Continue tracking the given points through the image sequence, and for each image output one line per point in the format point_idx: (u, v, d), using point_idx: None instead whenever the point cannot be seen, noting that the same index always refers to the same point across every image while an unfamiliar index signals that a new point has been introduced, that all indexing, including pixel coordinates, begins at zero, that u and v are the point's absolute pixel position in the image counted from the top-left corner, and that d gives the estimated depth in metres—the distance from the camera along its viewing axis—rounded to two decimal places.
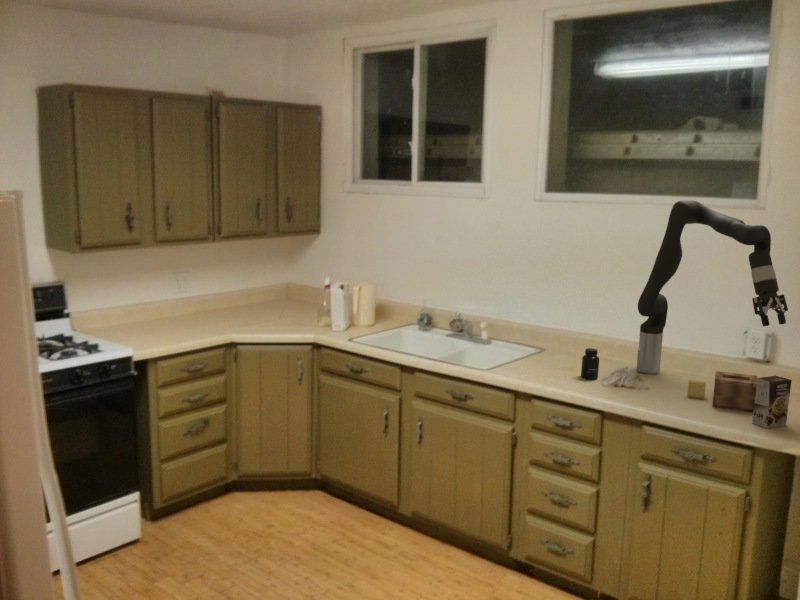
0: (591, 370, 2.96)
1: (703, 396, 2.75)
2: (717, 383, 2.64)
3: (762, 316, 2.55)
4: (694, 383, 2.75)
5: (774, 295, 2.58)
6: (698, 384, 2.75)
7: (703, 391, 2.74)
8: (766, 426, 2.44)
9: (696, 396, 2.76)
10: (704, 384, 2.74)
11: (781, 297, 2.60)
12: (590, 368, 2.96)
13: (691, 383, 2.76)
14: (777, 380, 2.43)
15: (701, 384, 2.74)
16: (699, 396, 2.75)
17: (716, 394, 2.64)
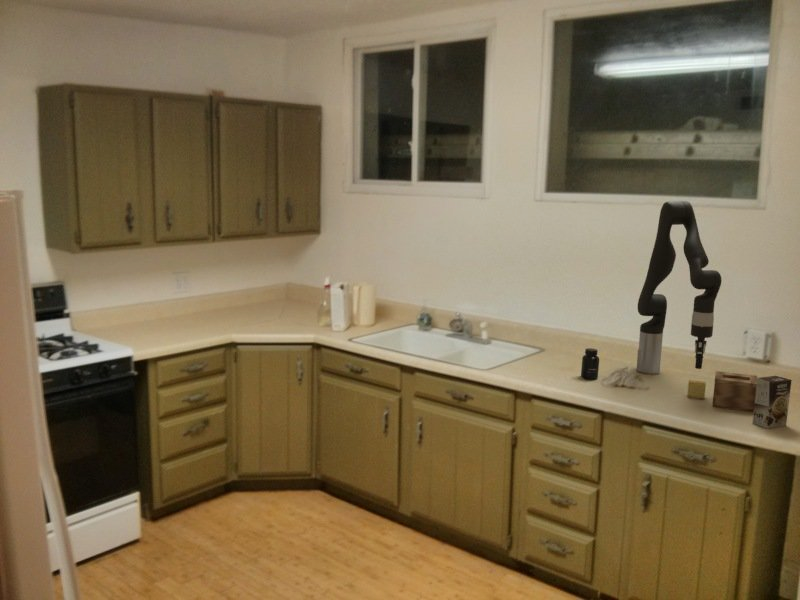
0: (591, 370, 2.96)
1: (703, 396, 2.75)
2: (717, 383, 2.64)
3: (699, 360, 2.69)
4: (694, 383, 2.75)
5: None
6: (698, 384, 2.75)
7: (703, 391, 2.74)
8: (766, 426, 2.44)
9: (696, 396, 2.76)
10: (704, 384, 2.74)
11: (703, 338, 2.78)
12: (590, 368, 2.96)
13: (691, 383, 2.76)
14: (777, 380, 2.43)
15: (700, 384, 2.74)
16: (699, 396, 2.75)
17: (716, 394, 2.64)
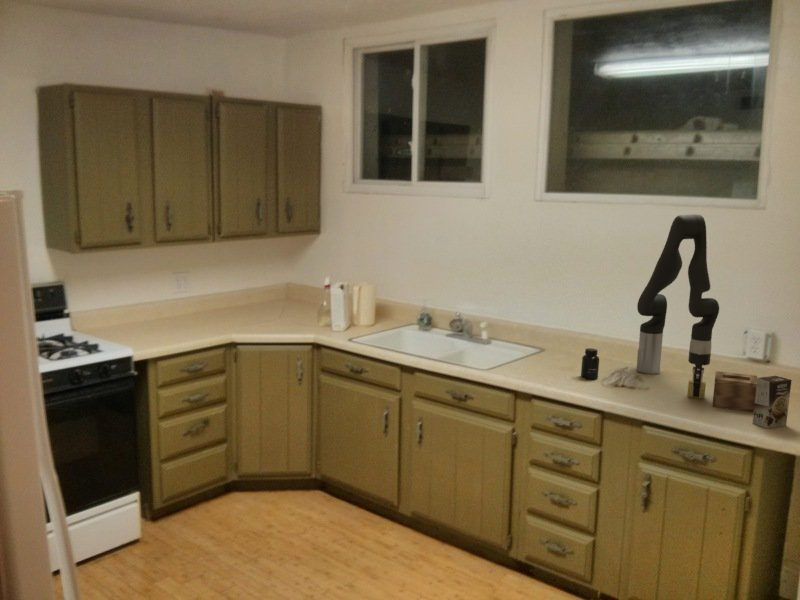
0: (591, 370, 2.96)
1: (703, 396, 2.75)
2: (717, 383, 2.64)
3: (696, 388, 2.74)
4: None
5: None
6: None
7: (703, 391, 2.74)
8: (766, 426, 2.44)
9: None
10: (704, 384, 2.74)
11: None
12: (590, 368, 2.96)
13: (691, 383, 2.76)
14: (777, 380, 2.43)
15: (701, 384, 2.74)
16: (699, 396, 2.75)
17: (716, 394, 2.64)
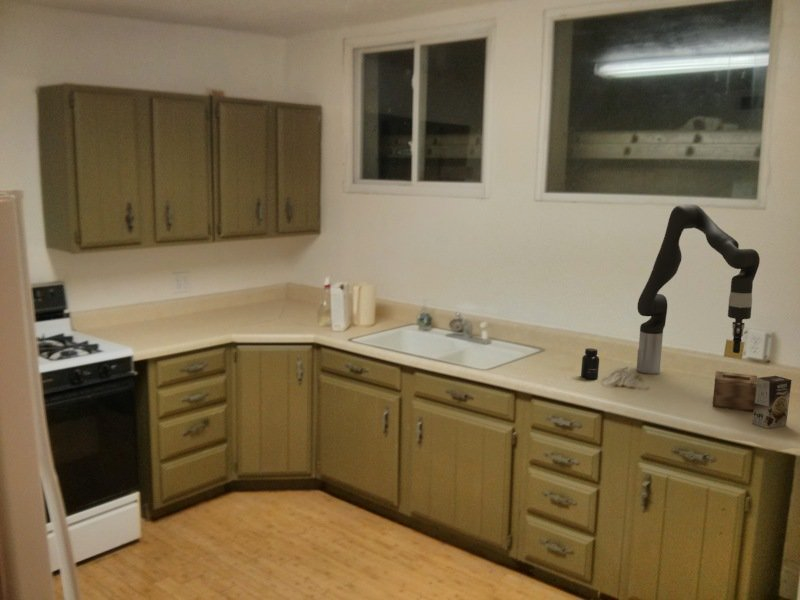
0: (591, 370, 2.96)
1: (740, 356, 2.63)
2: (717, 383, 2.64)
3: (737, 343, 2.62)
4: (732, 342, 2.64)
5: None
6: None
7: (741, 351, 2.63)
8: (766, 426, 2.44)
9: (733, 356, 2.64)
10: (743, 344, 2.62)
11: None
12: (590, 368, 2.96)
13: (729, 342, 2.64)
14: (777, 380, 2.43)
15: None
16: (736, 356, 2.64)
17: (716, 394, 2.64)
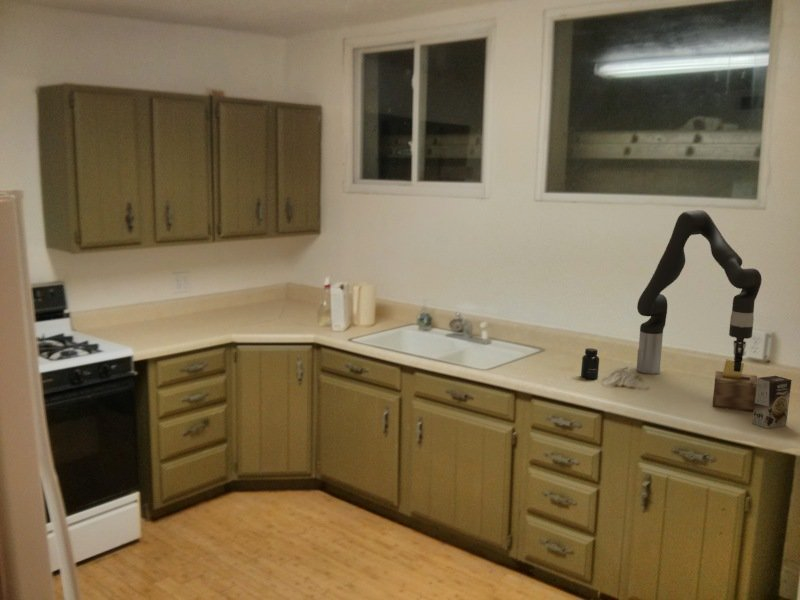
0: (591, 370, 2.96)
1: (739, 377, 2.65)
2: (717, 383, 2.64)
3: (738, 362, 2.63)
4: (732, 363, 2.65)
5: None
6: None
7: (740, 372, 2.64)
8: (766, 426, 2.44)
9: (732, 376, 2.66)
10: (742, 365, 2.64)
11: None
12: (590, 368, 2.96)
13: (728, 362, 2.66)
14: (777, 380, 2.43)
15: None
16: (735, 377, 2.65)
17: (716, 394, 2.64)
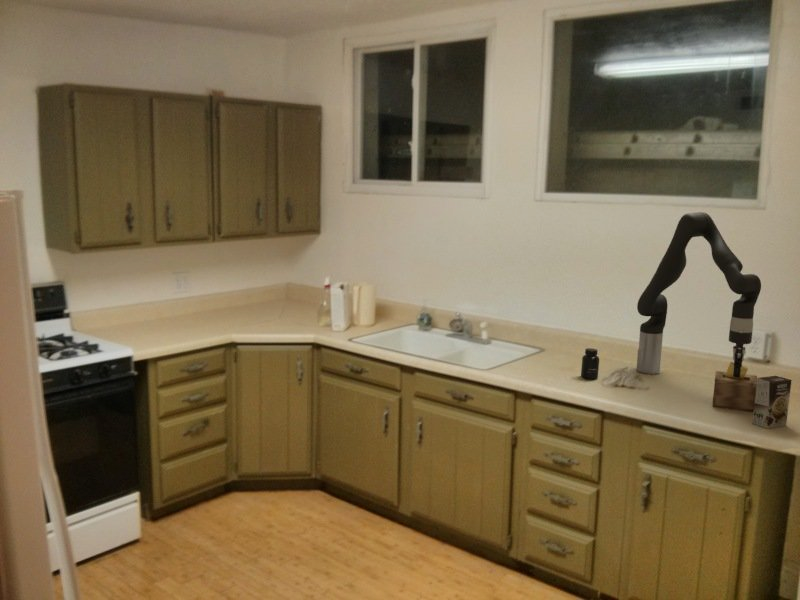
0: (591, 370, 2.96)
1: None
2: (717, 383, 2.64)
3: (737, 368, 2.63)
4: None
5: None
6: None
7: (742, 376, 2.64)
8: (766, 426, 2.44)
9: None
10: (746, 369, 2.64)
11: None
12: (590, 368, 2.96)
13: (733, 365, 2.65)
14: (777, 380, 2.43)
15: (742, 369, 2.64)
16: None
17: (716, 394, 2.64)
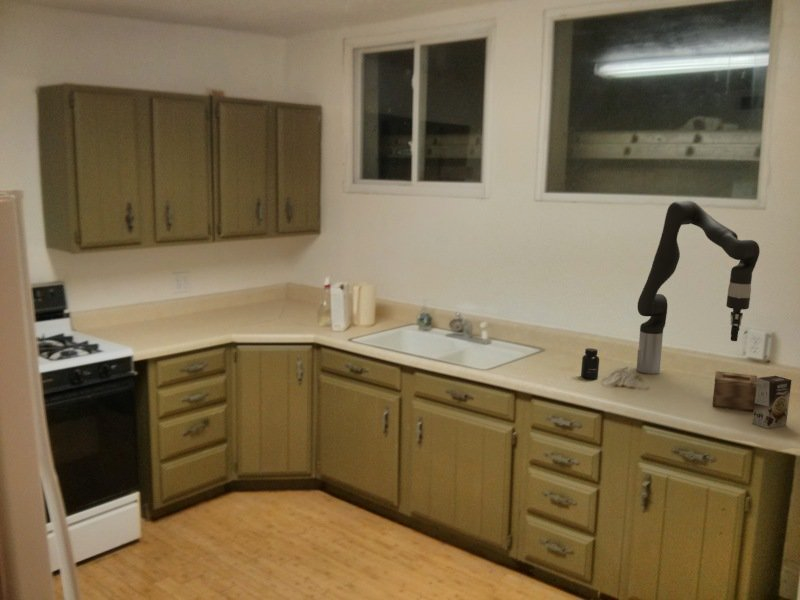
0: (591, 370, 2.96)
1: None
2: (717, 383, 2.64)
3: (735, 332, 2.63)
4: None
5: None
6: None
7: None
8: (766, 426, 2.44)
9: None
10: None
11: None
12: (590, 368, 2.96)
13: None
14: (777, 380, 2.43)
15: None
16: None
17: (716, 394, 2.64)
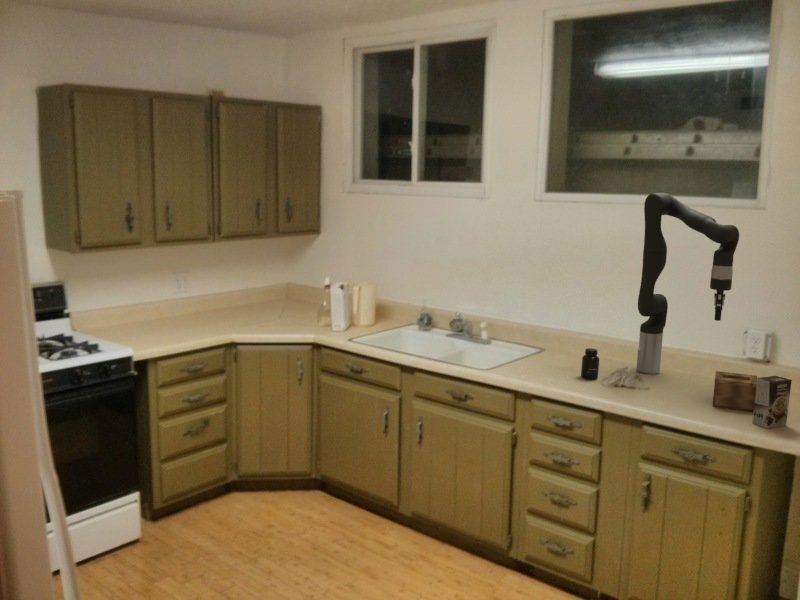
0: (591, 370, 2.96)
1: None
2: (717, 383, 2.64)
3: (718, 312, 2.78)
4: None
5: None
6: None
7: None
8: (766, 426, 2.43)
9: None
10: None
11: None
12: (590, 368, 2.96)
13: None
14: (777, 380, 2.43)
15: None
16: None
17: (716, 394, 2.64)
